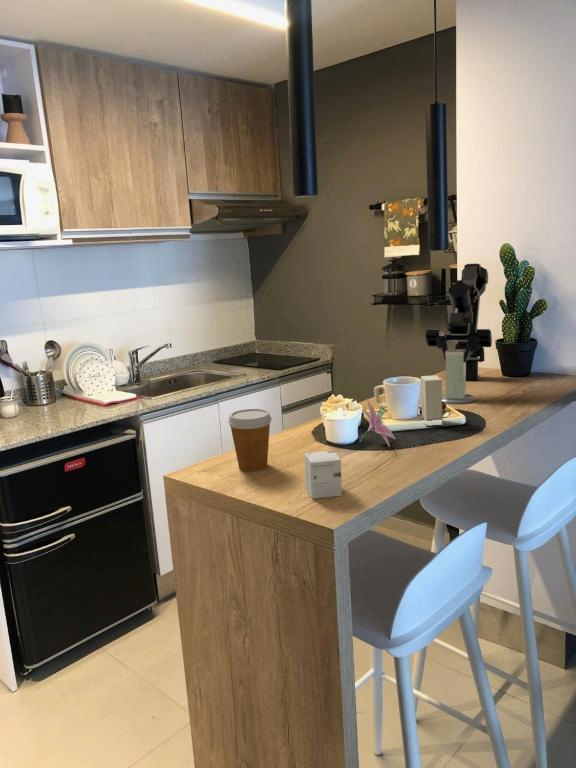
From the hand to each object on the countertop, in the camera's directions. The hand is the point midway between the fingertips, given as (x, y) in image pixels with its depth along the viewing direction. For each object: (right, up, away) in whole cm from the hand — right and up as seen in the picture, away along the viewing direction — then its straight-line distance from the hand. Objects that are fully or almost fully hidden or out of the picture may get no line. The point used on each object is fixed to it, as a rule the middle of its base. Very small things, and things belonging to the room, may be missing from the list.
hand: (455, 361), depth 180 cm
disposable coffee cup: (-56, -25, -43) cm, 75 cm away
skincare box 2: (-11, -17, -19) cm, 28 cm away
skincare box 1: (-42, -28, -60) cm, 78 cm away
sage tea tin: (+1, -11, +3) cm, 11 cm away
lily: (-27, -21, -32) cm, 47 cm away
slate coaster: (+1, -11, +4) cm, 12 cm away
